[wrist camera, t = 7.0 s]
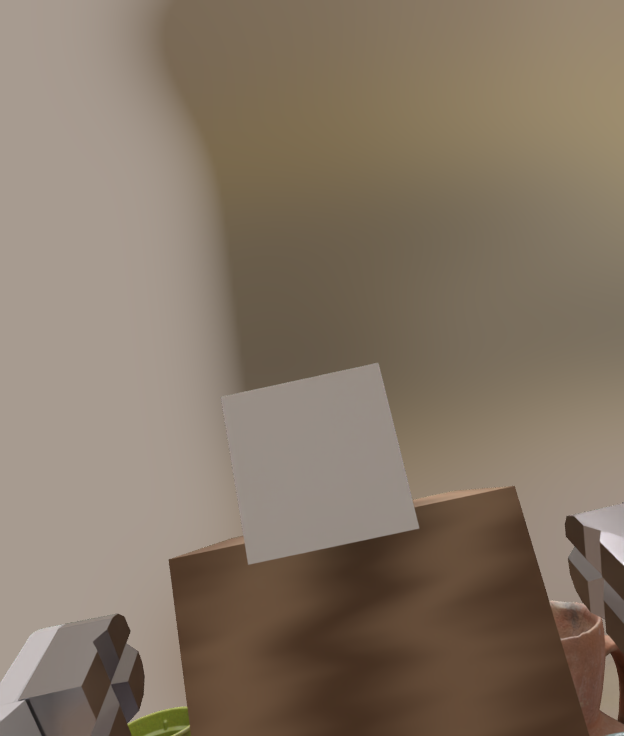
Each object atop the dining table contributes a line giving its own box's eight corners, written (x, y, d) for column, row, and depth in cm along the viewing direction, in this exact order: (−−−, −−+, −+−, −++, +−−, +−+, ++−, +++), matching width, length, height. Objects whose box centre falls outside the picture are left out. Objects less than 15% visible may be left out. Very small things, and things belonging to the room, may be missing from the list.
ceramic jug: (523, 916, 32) (465, 666, 36) (436, 796, 46) (400, 624, 49) (758, 829, 36) (685, 608, 39) (612, 741, 49) (567, 584, 53)
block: (369, 507, 30) (357, 456, 31) (419, 528, 9) (378, 362, 10) (318, 518, 30) (308, 467, 31) (247, 564, 9) (220, 396, 10)
